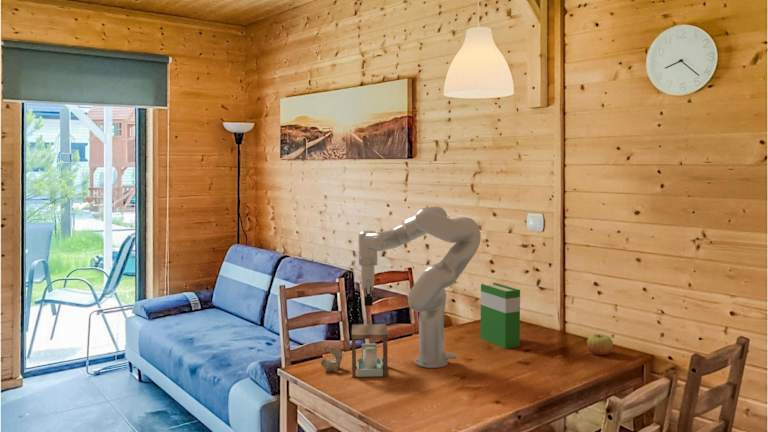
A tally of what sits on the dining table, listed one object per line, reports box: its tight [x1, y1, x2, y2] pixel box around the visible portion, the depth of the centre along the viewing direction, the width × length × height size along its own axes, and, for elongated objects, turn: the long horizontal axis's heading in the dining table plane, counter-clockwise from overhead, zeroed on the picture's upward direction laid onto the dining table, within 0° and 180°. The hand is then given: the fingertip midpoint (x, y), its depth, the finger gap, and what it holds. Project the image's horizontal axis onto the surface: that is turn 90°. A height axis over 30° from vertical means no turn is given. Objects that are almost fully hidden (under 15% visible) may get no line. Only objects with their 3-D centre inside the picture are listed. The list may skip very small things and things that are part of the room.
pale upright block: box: [362, 347, 378, 369], centre depth 230 cm, size 5×5×7 cm
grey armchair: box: [356, 343, 384, 378], centre depth 235 cm, size 9×23×5 cm, turn 2°
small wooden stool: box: [351, 323, 389, 378], centre depth 230 cm, size 13×14×16 cm
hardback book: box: [479, 282, 521, 349], centre depth 265 cm, size 18×7×24 cm, turn 26°
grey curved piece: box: [320, 346, 343, 373], centre depth 232 cm, size 9×6×10 cm
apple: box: [586, 333, 614, 356], centre depth 249 cm, size 10×10×8 cm
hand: (368, 305), depth 253 cm, fingers closed
